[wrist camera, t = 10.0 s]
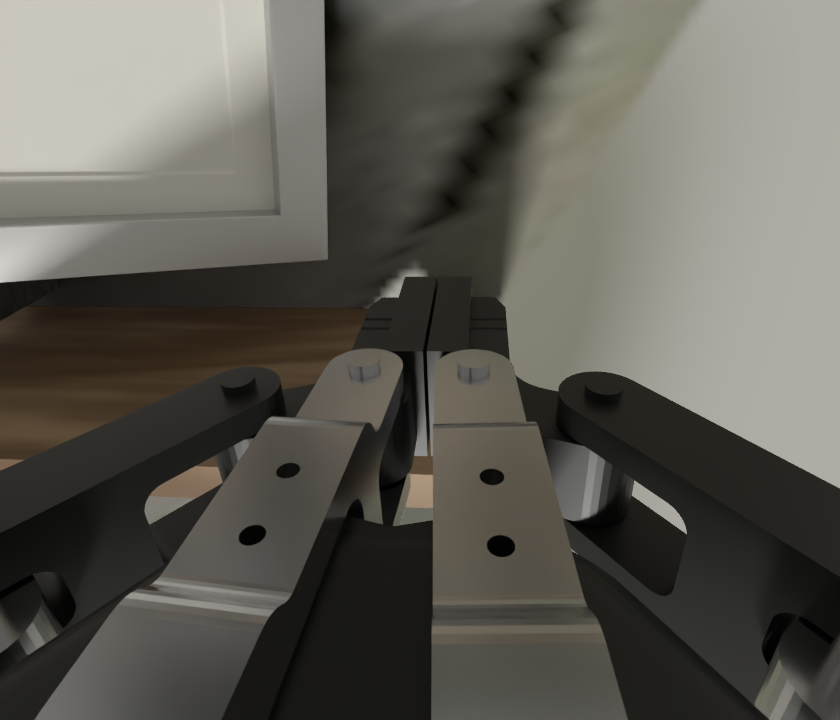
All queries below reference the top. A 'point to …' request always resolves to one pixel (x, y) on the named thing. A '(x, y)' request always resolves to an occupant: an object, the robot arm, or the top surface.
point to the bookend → (23, 294)
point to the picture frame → (160, 135)
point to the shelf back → (155, 370)
